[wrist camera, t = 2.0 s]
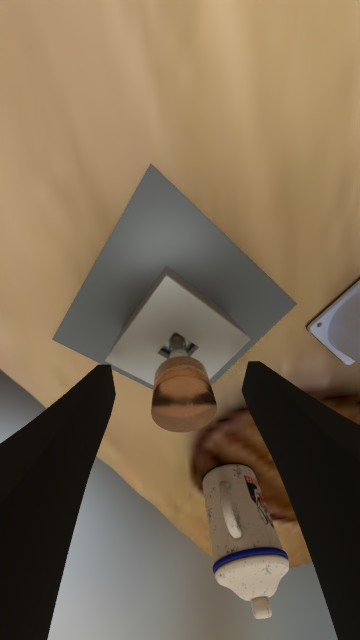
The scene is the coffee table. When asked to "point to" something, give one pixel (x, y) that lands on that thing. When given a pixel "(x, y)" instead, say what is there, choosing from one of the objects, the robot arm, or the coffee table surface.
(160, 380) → the plunger
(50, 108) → the coffee table surface
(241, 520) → the teacup with lid
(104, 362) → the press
